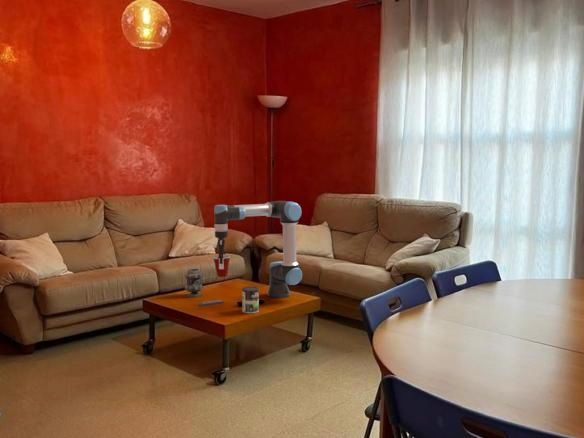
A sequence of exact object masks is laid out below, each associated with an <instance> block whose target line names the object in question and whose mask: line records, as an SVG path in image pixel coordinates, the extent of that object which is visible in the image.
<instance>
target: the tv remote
mask: <svg viewBox="0 0 584 438" xmlns="http://www.w3.org/2000/svg"><path fill="white" fill-rule="evenodd" d="M222 304H224V301H223V300H222V299H217V300H209V301H203V302H198V305H199V306H200V307H206V306H208V307H209V306H214V305H222Z"/></svg>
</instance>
